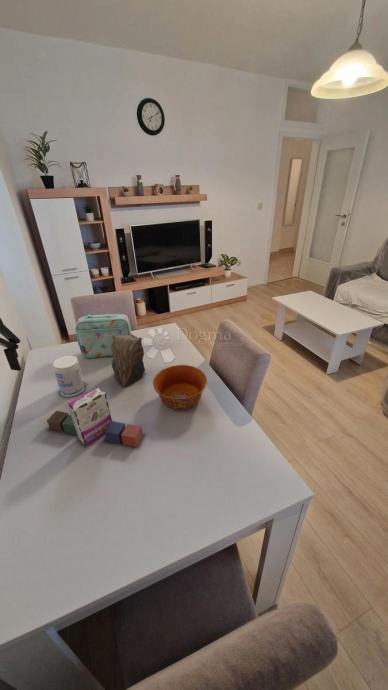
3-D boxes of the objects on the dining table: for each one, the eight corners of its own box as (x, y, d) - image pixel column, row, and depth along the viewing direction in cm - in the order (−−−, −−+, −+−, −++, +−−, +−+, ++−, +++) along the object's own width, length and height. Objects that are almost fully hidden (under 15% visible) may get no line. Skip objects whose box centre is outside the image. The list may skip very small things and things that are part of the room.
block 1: (50, 430, 98) (46, 420, 95) (59, 420, 102) (56, 410, 99) (62, 433, 97) (59, 423, 94) (71, 422, 101) (68, 412, 98)
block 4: (123, 445, 92) (121, 435, 90) (129, 434, 96) (127, 423, 94) (137, 448, 91) (135, 437, 88) (142, 436, 95) (141, 426, 93)
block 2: (65, 433, 96) (61, 423, 94) (73, 423, 101) (70, 413, 98) (77, 436, 95) (74, 426, 93) (86, 425, 100) (83, 415, 97)
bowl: (157, 422, 101) (155, 401, 96) (152, 386, 119) (150, 367, 114) (212, 414, 105) (213, 393, 100) (199, 380, 123) (200, 361, 118)
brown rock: (112, 374, 127) (105, 336, 117) (137, 365, 133) (133, 328, 123) (123, 388, 118) (116, 348, 108) (149, 378, 124) (145, 339, 114)
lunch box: (78, 361, 136) (68, 322, 126) (81, 350, 145) (72, 313, 134) (133, 355, 141) (128, 317, 130) (133, 345, 150) (128, 308, 139)
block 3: (106, 442, 93) (104, 431, 91) (113, 431, 97) (111, 420, 95) (120, 445, 92) (118, 434, 90) (126, 433, 96) (125, 423, 94)
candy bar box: (106, 421, 101) (98, 386, 93) (114, 428, 99) (106, 392, 90) (77, 439, 94) (66, 402, 86) (85, 447, 91) (74, 410, 83)
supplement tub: (58, 399, 112) (48, 369, 105) (63, 384, 120) (55, 356, 113) (83, 396, 114) (75, 366, 106) (86, 382, 122) (79, 354, 114)
